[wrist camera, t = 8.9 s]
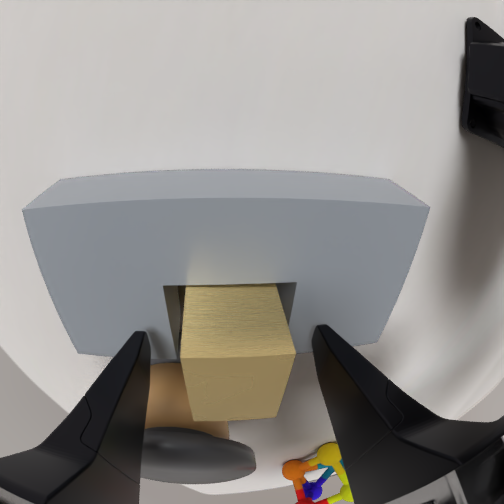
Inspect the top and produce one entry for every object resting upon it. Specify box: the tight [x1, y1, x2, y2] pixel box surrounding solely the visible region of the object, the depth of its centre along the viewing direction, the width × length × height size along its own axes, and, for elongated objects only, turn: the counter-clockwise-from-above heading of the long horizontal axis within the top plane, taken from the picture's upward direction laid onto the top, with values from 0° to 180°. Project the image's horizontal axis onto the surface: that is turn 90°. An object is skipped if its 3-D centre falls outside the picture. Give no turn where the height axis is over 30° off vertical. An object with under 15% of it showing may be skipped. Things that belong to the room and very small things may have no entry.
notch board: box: [22, 169, 430, 359], centre depth 11 cm, size 14×7×3 cm, turn 87°
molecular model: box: [282, 443, 354, 504], centre depth 27 cm, size 11×10×15 cm
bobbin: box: [140, 332, 256, 484], centre depth 14 cm, size 8×8×7 cm
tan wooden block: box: [180, 283, 296, 421], centre depth 11 cm, size 3×4×6 cm
